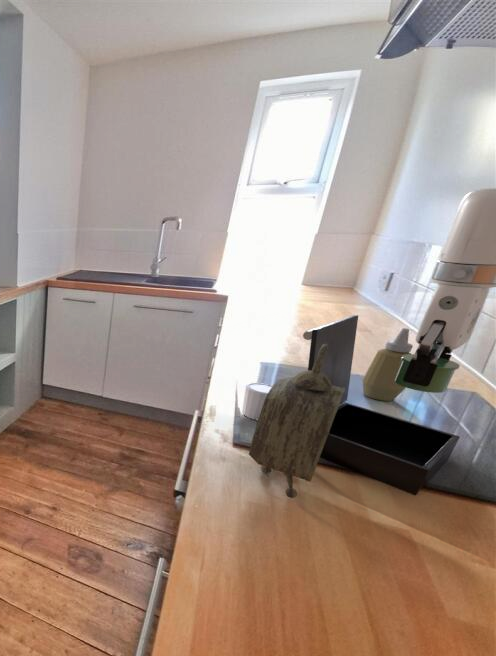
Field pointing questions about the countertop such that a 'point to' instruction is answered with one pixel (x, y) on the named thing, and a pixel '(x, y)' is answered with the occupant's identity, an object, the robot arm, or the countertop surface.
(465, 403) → the countertop surface
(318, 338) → the lid
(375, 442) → the black rectangular tray
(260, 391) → the white short cylinder
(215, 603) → the countertop surface
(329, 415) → the tan textured upright piece
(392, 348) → the squeeze bottle
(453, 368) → the pot
